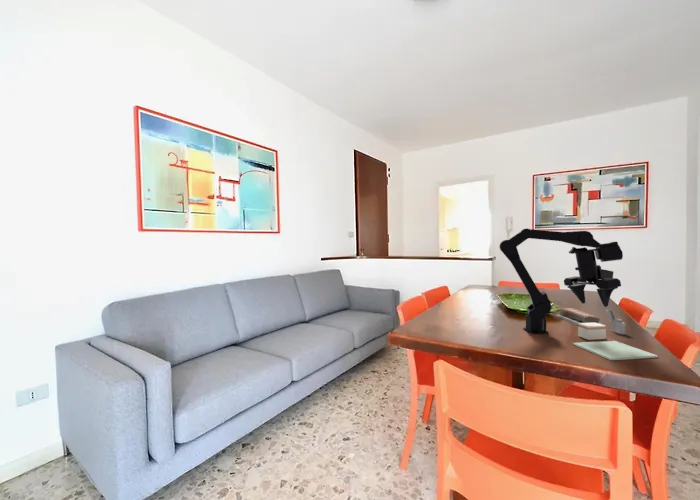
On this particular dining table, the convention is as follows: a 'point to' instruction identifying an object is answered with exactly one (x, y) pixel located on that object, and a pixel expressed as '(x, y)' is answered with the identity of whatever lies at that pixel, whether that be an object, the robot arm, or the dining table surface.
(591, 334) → the white box
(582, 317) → the packaged product
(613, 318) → the lighter
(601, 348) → the mat
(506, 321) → the dining table surface
